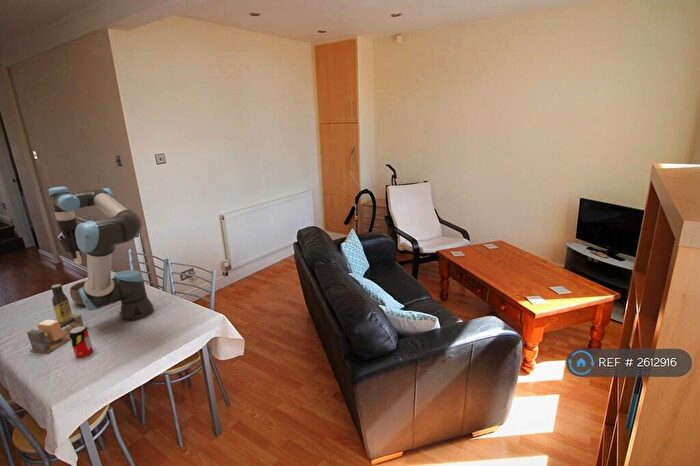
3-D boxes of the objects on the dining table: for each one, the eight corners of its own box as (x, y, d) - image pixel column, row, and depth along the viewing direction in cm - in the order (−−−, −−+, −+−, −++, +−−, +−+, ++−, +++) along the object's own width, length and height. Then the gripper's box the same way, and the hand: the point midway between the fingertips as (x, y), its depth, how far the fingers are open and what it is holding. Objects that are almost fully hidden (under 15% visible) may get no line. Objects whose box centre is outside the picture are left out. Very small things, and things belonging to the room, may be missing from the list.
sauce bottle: (65, 326, 178) (54, 289, 172) (55, 324, 180) (43, 288, 173) (77, 319, 184) (66, 283, 178) (67, 317, 186) (56, 282, 179)
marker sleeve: (63, 335, 165) (58, 320, 163) (55, 341, 162) (50, 325, 159) (51, 334, 167) (45, 319, 164) (42, 339, 163) (37, 324, 160)
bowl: (102, 290, 214) (98, 275, 211) (116, 298, 204) (112, 282, 201) (68, 302, 201) (63, 286, 198) (80, 312, 191) (75, 294, 188)
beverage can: (82, 349, 160) (75, 325, 156) (96, 349, 160) (89, 325, 156) (71, 358, 154) (64, 333, 150) (86, 358, 154) (79, 333, 150)
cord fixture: (71, 326, 178) (66, 308, 175) (88, 328, 176) (83, 310, 173) (29, 351, 159) (23, 332, 156) (48, 354, 157) (41, 334, 154)
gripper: (71, 214, 184) (83, 258, 192) (47, 222, 172) (60, 268, 180) (84, 215, 183) (95, 258, 190) (60, 222, 171) (73, 269, 178)
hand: (78, 263), depth 185 cm, fingers closed
